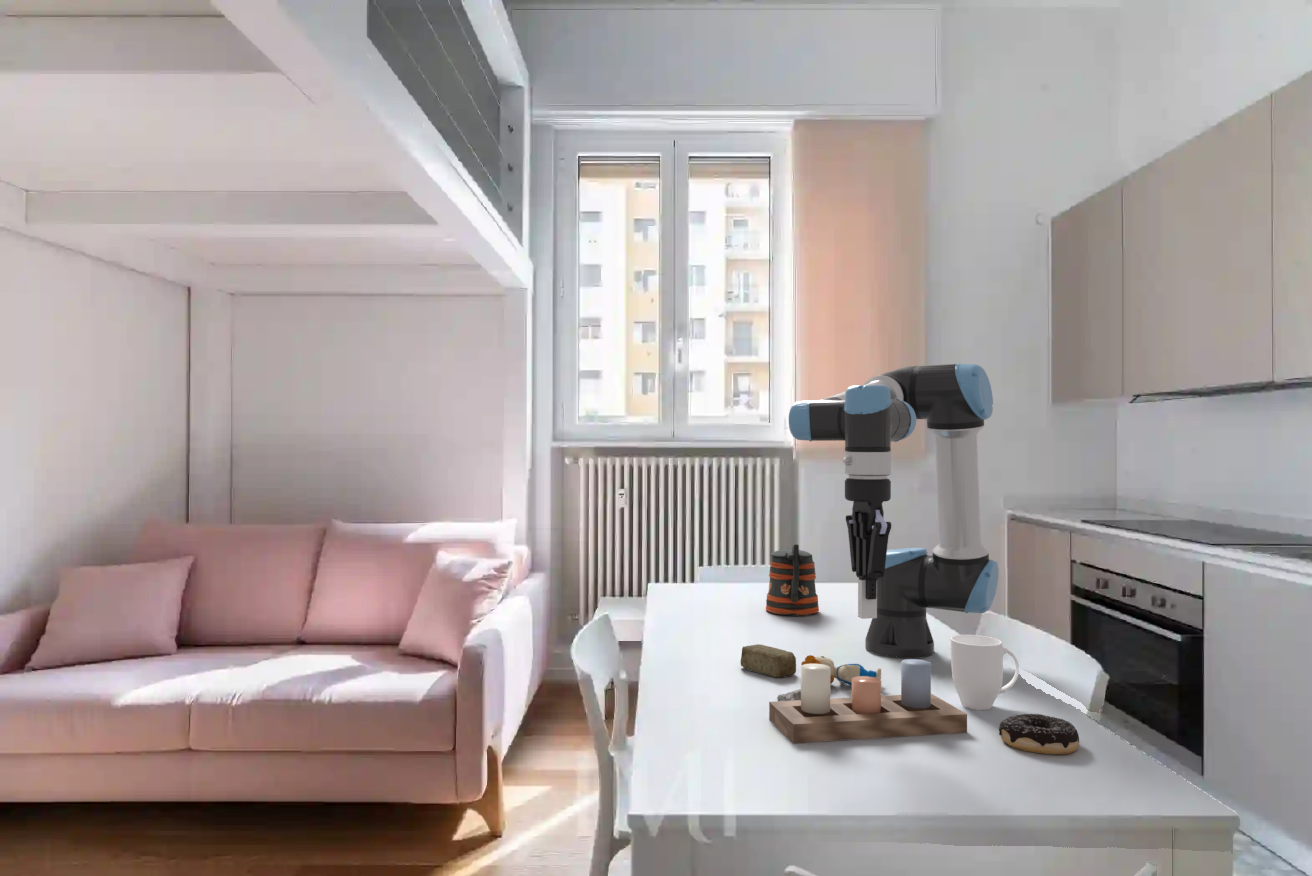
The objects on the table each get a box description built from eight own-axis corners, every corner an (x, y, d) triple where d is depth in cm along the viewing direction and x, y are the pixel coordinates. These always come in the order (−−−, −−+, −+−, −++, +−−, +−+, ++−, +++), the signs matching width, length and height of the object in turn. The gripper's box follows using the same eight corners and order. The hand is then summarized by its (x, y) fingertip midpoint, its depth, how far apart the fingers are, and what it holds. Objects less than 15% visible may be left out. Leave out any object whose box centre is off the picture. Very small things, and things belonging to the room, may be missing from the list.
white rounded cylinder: (823, 704, 148) (823, 663, 148) (834, 713, 143) (835, 670, 143) (796, 705, 147) (796, 664, 147) (806, 714, 142) (807, 671, 142)
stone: (758, 714, 154) (758, 691, 154) (791, 696, 164) (791, 674, 164) (791, 722, 150) (791, 698, 150) (823, 703, 160) (823, 681, 160)
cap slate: (921, 699, 151) (922, 658, 152) (936, 707, 147) (936, 665, 147) (896, 700, 151) (896, 659, 151) (909, 708, 146) (909, 666, 146)
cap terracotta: (873, 716, 150) (873, 675, 150) (885, 725, 145) (886, 683, 145) (846, 718, 149) (847, 676, 149) (858, 727, 144) (858, 684, 144)
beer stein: (828, 620, 233) (828, 545, 233) (773, 620, 233) (773, 545, 233) (812, 606, 252) (813, 537, 252) (762, 606, 251) (762, 537, 252)
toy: (884, 659, 165) (804, 647, 168) (882, 692, 163) (801, 680, 165) (876, 668, 176) (801, 656, 179) (874, 698, 174) (798, 687, 176)
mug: (958, 712, 154) (958, 643, 155) (944, 699, 163) (944, 634, 164) (1026, 713, 154) (1025, 645, 154) (1009, 700, 163) (1008, 635, 163)
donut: (1088, 760, 132) (1088, 734, 132) (1006, 755, 134) (1006, 729, 134) (1067, 736, 143) (1067, 712, 143) (991, 731, 145) (991, 707, 145)
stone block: (779, 681, 175) (779, 656, 175) (737, 669, 183) (737, 645, 183) (798, 676, 178) (798, 651, 178) (756, 665, 187) (756, 641, 187)
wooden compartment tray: (930, 710, 156) (930, 693, 156) (967, 732, 144) (967, 714, 144) (769, 719, 150) (769, 701, 150) (793, 743, 138) (793, 724, 138)
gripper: (831, 475, 153) (831, 610, 153) (863, 479, 140) (862, 627, 140) (871, 475, 154) (871, 608, 154) (906, 479, 141) (906, 625, 142)
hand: (867, 617), depth 147 cm, fingers closed
